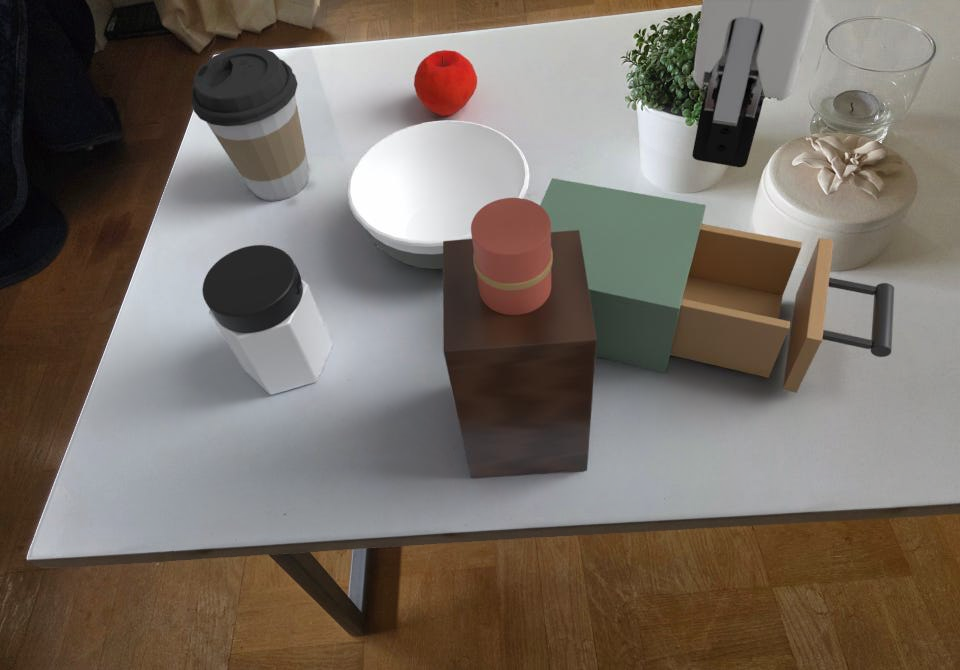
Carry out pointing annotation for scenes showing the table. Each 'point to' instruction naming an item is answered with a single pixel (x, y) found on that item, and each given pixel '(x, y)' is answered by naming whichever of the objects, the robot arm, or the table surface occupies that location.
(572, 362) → the block
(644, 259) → the cabinet
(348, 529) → the table surface
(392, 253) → the bowl
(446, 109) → the apple
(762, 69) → the robot arm
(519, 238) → the red cylinder
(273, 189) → the coffee cup
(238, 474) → the table surface
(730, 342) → the drawer
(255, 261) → the jar
